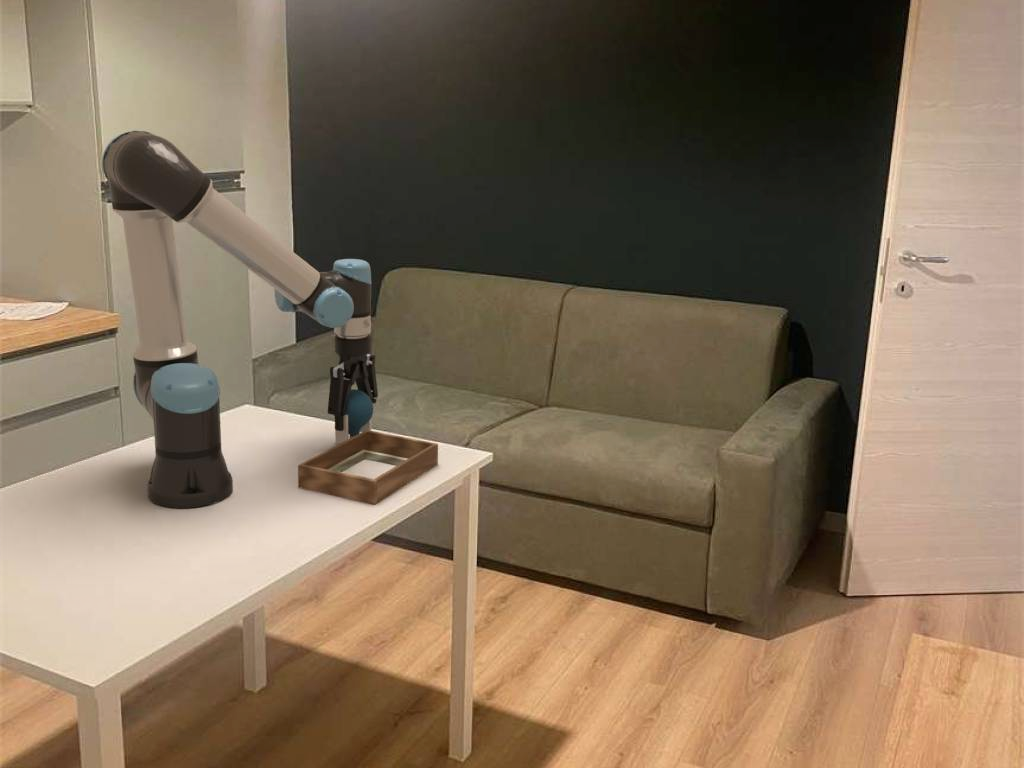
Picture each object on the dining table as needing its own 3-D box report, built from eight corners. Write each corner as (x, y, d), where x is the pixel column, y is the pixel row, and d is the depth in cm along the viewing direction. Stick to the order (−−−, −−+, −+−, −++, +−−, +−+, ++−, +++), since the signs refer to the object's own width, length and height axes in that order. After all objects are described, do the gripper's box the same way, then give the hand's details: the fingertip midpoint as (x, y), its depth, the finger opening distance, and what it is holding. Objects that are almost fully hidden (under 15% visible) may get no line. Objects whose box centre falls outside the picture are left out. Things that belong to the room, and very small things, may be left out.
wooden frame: (298, 487, 200) (297, 465, 199) (366, 450, 221) (366, 429, 220) (374, 504, 194) (374, 481, 192) (437, 464, 215) (438, 443, 213)
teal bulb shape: (370, 451, 221) (370, 396, 217) (330, 449, 221) (329, 395, 218) (376, 438, 229) (375, 385, 226) (337, 436, 229) (336, 383, 226)
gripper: (339, 347, 207) (340, 455, 214) (394, 327, 226) (394, 427, 232) (307, 342, 210) (310, 449, 217) (365, 322, 229) (365, 421, 235)
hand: (353, 437), depth 225 cm, fingers closed on teal bulb shape, 8 cm apart
